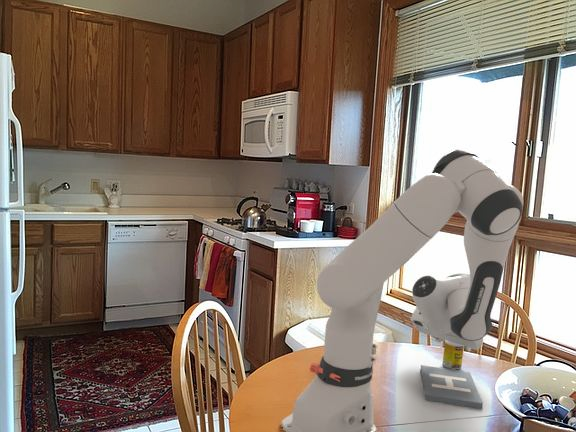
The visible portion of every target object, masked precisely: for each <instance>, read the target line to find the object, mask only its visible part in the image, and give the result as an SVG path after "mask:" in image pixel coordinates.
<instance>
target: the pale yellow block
mask: <svg viewBox="0 0 576 432" xmlns="http://www.w3.org/2000/svg"><path fill="white" fill-rule="evenodd" d="M378 344H379V341H378V340H375V339H373V347H372V356H374V355H375V356H376V355H378V351H377V349H378V346H379V345H378Z"/></svg>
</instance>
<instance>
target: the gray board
mask: <svg viewBox="0 0 576 432" xmlns="http://www.w3.org/2000/svg"><path fill="white" fill-rule="evenodd" d="M419 371H420V377H421V383H422V388H423V393H424V400H425V401H429V402H435V403H442V404H448V405H455V406H461V407H467V408H474V409H482V410H483V405H484V403H483V401H482V397H481V395H480V393H479V391H478V388H477V386H476V383H475V381H474V378H473V375H472V374H471V371H466V370H460V369H458V370H453V369H449V368H446V367H444V368H443V367H437V366H431V365H422V364H421V365H420V370H419Z"/></svg>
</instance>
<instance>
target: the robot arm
mask: <svg viewBox="0 0 576 432" xmlns="http://www.w3.org/2000/svg"><path fill="white" fill-rule="evenodd" d="M523 207H524V197H523V195H522V192H521V191H520V190H519V189H518V188H517V187H515V186H514V185H512V184H509V183H506V182H505V181H504V180H503V179H502V178H501V176H499V175H498V173H497V172H496V171H495V170H494V169H493V168H492V167H491V166H490V165H488V164H487V163H485V162H484V161H483V160H481V159H480V158H479V156H478V155H476V154H475V153H473V152H472V151H469V150H467V149H463V148H460V149H454V150H452V151H448V152H447V153H445V154H444V155H443V156H442V157H441V158H440V159H439V160H438V161H437V163H436V164H435V166H434V168H433V170H432V171H431V173H429V174H426V175H425V176H423V177H421V179H419V180H417V181H416V182H415V183H414V184H412V185H411V186H410V187H409V188H408V189H406V190H404V192H402V193H401V195H399V196H398V198H396V199H395V200H394V201H393V202H392V203H391V204H390V206H389V207H387V209H386V210H384V212H383V213H382V214H381V215H380V216H379V217H378V218H377V219H376V220H375V221H374V222H373V223H372V224H371V225H370V226H369V227H368V228H366V229H365V230H364V231H363V232H362V233H361V234H359V236H358V237H356V238H355V239H354V240H353V241H352V242H351V243H349V244H348V245H347V246H346V247H345V248H344V249H343V250H341V252H340V253H338V255H336V256H335V257H334V258H333V259H332V260H331V261H330V262H329V263H328V264H327V265H326V266H325V267H324V268H323V269H322V271H321V272H320V274H319V275H318V277H317V281H316V290H317V294H318V297H319V298H320V300H321V301H322V303H324V304H325V305H326V306H328V307H329V308H331V309H330V310H331V311H330V314H329V316H328V318H327V321H326V324H325V333H324V344H323V345H324V346H323V348H324V349H323V356H321V360H320V362H319V364H317V363H315V362H312V363H311V364H310V365H309V371H310V372H311V373H314V374H316V376H315V377H314V378H313V379H312V381H311V382H310V383H309V384H308V385H307V386H306V387H305V389H304V390H303V391H302V392H301V393H300V394H299V395H298V397H297V398H296V400H295V402H294V405H293V412H292V413H291V414H289V415H287V416H286V417H285V418H284V419H282V420H281V424H282V426H281V428H282V427H283V428H284V430H285V431H286V432H378V428H377V427H376V425H375V424H374V423H375V418H374V417H375V413H374V411H375V410H374V406H375V403H374V402H375V400H374V397H375V396H374V393H373V390H372V385H371V381H372V379H373V374H374V367H373V365H374V364H373V361H372V358H373V357H372V356H373V355H372V347H374V346H373V340H374V335H375V334H374V333H375V327H376V322H377V319H378V314H379V310H380V305H381V300H382V295H383V291H384V290H383V289H384V284H385V282H386V281H387V280H388V279H389V278H391V277H392V276H393V275H394V274H395V273H396V272H398V270H399V269H401V268H402V267H403V266H404V265H406V263H408V262H409V261H410V259H412V258H413V257H414V256H415V255H417V253H418V252H419V251H420V250H421V249H422V248H423V247H424V246H425V245H427V244H428V243H429V241H431V240H432V239H433V238H434V237H435V236H436V235H437V234H438V233H439V231H441V229H442V228H443V227H444V226H445V225H446V224H447V223H448V222H449V221H450V219H451V218H452V217H453V215H454V214H456V213H459V214H460V215H461V216H462V217H463V218H465V219H466V223H465V226H464V231H463V233H464V234H463V245H464V251H465V254H466V255H465V256H466V259H467V260H466V261H467V263H468V268H469V274H468V273H455V274H451V275H447V276H446V277H437V276H435V275H430V274H429V275H424V276H421V277H419V278H418V279H417V280H415V283H414V284H413V286H412V290H411V291H412V292H411V295H412V298H413V299H412V300H413V302H414V303H415V306H416V307H415V309H414V311H413V312H412V315H411V318H410V321H411V323H412V324H413V327H414V328H415V330H416V331H418V332H419V333H423V334H425V335H429V336H430V337H432V339H433V338H434V340H435V341H436V342H437V343H441V342H442V340H444V341H445V340H447V341H451V342H454V343H457V344H460V345H463V346H464V348H463V350H464V351H466V352H471V350H472V349H473V350H479V349H481V347H482V345H483V342H484V337H486V336H487V335H488V334H489V332H490V331H491V330H492V328H493V322H492V319H491V316H492V315H491V314H492V310H493V308H494V304H495V301H496V298H497V295H498V291H499V289H500V284H501V281H502V276H503V273H504V269H505V265H506V261H507V258H508V254H509V252H510V248H511V245H512V243H513V241H514V238H515V235H516V233H517V230H518V228H519V225H520V223H521V218H522V215H523V209H524V208H523ZM281 424H280V425H281ZM288 427H290V428H288ZM283 428H282V429H283ZM284 430H283V431H284ZM285 431H284V432H285Z"/></svg>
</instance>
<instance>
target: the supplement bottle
mask: <svg viewBox="0 0 576 432" xmlns="http://www.w3.org/2000/svg"><path fill="white" fill-rule="evenodd" d="M443 345H444V346H443V356H442V366H443V367H444V368H445V369H454V370H456V369H458V370H460V369H461V368H462V367H463V366H462V365H463V364H462V363H463V355H464V346H463V345H460V344H457V343H454V342H451V341H447V340H444V344H443Z"/></svg>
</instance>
